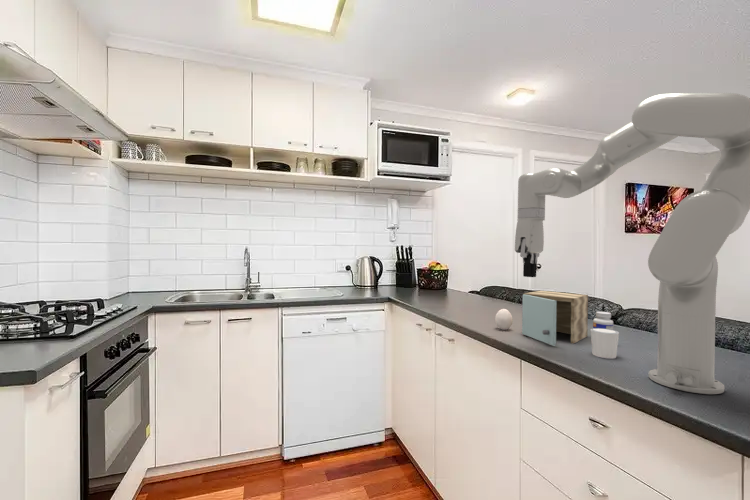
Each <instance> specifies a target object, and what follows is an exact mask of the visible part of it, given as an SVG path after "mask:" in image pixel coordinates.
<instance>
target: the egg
mask: <svg viewBox="0 0 750 500" xmlns="http://www.w3.org/2000/svg"><path fill="white" fill-rule="evenodd" d="M494 318H495V319H494V321H495V325H496V326H497V328H498V329H500V330H505V331H506V330H509V329H510V328H511V327H512V326H513V324H514V323H513V322H514V321H513V320H514V319H513V315H512V313H511V312H510V311H509V310H508V309H506V308H502V309H500V310H497V313H496V314H495V317H494Z"/></svg>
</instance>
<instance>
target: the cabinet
mask: <svg viewBox="0 0 750 500" xmlns="http://www.w3.org/2000/svg"><path fill="white" fill-rule="evenodd" d="M523 294H525V295H530V296H535V297H540V298H545V299H550V300H555V301H556V333H562V334H567V335H570V344H575V343H578V342H579V341H581V340H583V339H585V338H587V337H588V330H589V329H588V326H589V325H588V322H589V321H588V320H589V319H588V317H589V316H588V313H589V312H588V311H589V310H588V309H589V294H584V293H583V294H582V293H581V294H580V293H572V292H559V291H549V290H536V291H530V292H524V293H523ZM523 294H522V295H523Z"/></svg>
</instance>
